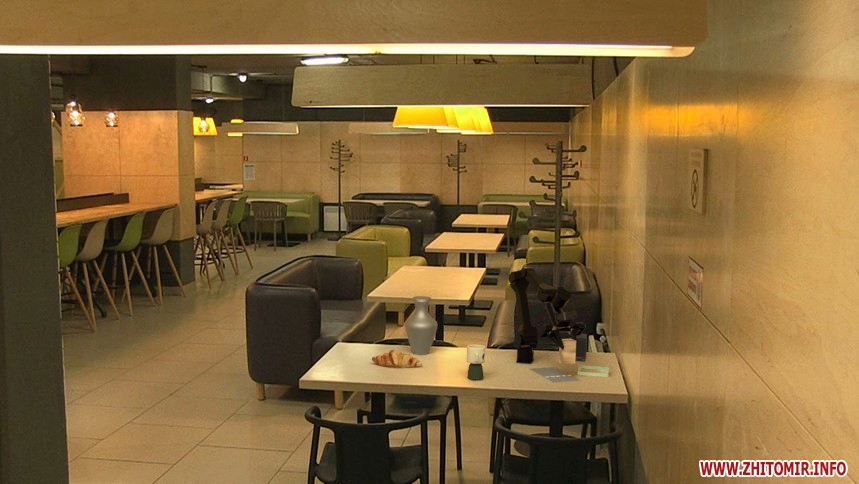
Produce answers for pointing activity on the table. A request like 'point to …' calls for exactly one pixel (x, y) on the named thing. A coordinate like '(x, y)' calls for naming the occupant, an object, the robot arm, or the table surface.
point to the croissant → (396, 360)
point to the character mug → (475, 361)
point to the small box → (581, 347)
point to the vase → (421, 327)
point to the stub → (567, 352)
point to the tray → (603, 370)
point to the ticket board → (555, 374)
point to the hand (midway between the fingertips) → (569, 348)
